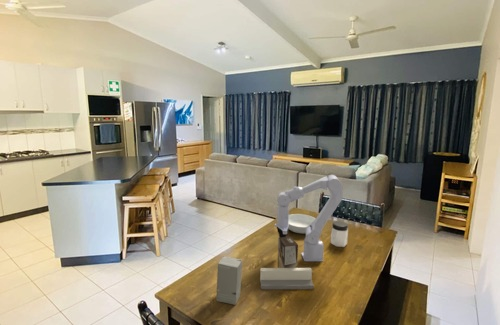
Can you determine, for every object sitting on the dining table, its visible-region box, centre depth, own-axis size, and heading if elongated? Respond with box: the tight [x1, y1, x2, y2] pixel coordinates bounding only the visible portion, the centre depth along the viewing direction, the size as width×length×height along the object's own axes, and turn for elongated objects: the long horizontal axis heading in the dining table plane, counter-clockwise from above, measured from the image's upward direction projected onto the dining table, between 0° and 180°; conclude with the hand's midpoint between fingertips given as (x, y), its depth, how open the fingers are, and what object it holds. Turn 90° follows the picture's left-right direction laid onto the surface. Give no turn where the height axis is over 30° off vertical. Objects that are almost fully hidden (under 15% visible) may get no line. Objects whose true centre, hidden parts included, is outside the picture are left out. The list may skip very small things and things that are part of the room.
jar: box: [330, 220, 349, 248], centre depth 151 cm, size 9×8×12 cm
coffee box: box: [277, 235, 299, 268], centre depth 122 cm, size 9×6×16 cm
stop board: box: [259, 267, 315, 290], centre depth 114 cm, size 22×6×6 cm, turn 92°
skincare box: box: [215, 255, 243, 306], centre depth 105 cm, size 8×7×16 cm
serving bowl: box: [288, 213, 317, 235], centre depth 169 cm, size 21×21×7 cm
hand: (282, 241), depth 138 cm, fingers closed
